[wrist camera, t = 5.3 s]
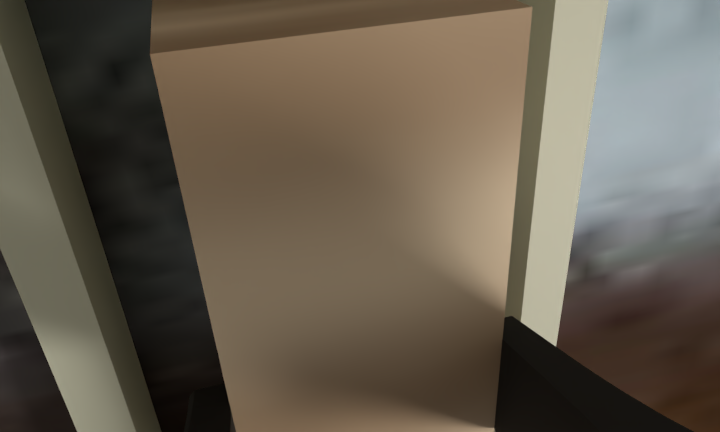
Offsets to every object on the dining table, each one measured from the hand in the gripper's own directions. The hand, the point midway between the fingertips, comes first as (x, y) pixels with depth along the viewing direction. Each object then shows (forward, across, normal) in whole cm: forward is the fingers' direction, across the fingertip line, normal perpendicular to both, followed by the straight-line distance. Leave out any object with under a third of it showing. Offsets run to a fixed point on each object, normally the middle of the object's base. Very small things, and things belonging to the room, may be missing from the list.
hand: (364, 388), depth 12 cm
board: (+3, 0, 0) cm, 3 cm away
